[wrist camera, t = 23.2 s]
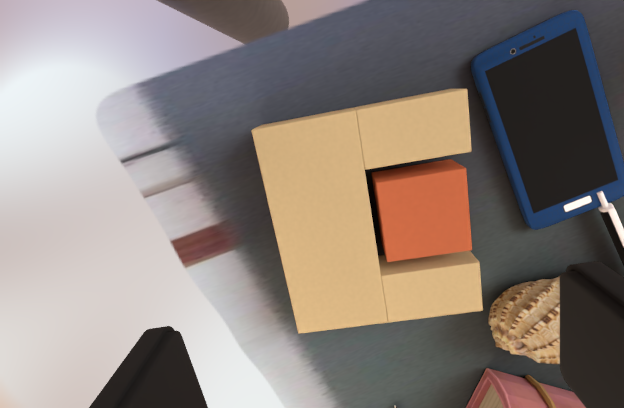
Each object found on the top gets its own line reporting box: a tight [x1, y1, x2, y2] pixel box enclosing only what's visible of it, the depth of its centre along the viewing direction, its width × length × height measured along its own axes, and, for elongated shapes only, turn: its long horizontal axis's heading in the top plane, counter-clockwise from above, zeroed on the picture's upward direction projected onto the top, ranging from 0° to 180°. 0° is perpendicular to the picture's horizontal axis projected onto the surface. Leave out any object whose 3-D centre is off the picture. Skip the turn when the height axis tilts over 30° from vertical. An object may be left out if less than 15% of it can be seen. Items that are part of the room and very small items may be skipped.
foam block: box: [371, 159, 472, 262], centre depth 28 cm, size 6×6×4 cm
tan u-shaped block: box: [252, 89, 483, 333], centre depth 28 cm, size 16×14×4 cm
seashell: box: [488, 276, 560, 364], centre depth 29 cm, size 8×6×10 cm
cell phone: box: [471, 10, 624, 230], centre depth 27 cm, size 7×14×1 cm, turn 26°
